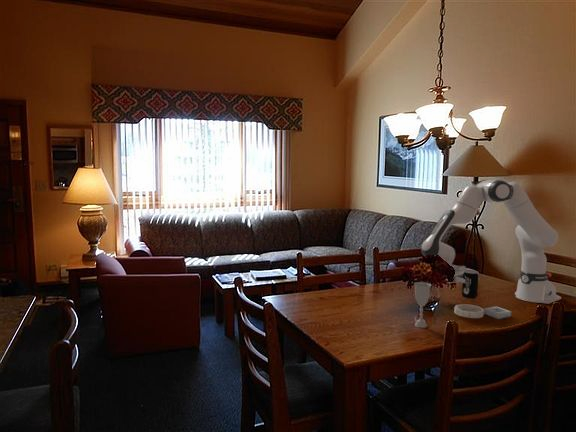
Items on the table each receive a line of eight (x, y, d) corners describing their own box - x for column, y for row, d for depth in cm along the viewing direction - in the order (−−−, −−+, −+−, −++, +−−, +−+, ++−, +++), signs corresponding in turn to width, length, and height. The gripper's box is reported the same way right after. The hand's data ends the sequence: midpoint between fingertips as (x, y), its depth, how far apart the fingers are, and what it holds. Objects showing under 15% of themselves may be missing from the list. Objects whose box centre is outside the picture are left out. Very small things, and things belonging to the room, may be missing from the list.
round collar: (468, 307, 212) (468, 302, 212) (489, 315, 201) (490, 310, 201) (448, 311, 207) (448, 306, 207) (469, 319, 196) (469, 314, 196)
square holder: (496, 311, 207) (496, 306, 207) (510, 316, 200) (511, 311, 200) (483, 313, 204) (483, 308, 204) (498, 319, 197) (498, 313, 197)
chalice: (408, 324, 189) (410, 283, 187) (418, 321, 194) (420, 281, 192) (423, 329, 184) (425, 287, 182) (433, 326, 188) (434, 284, 186)
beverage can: (478, 299, 200) (480, 273, 198) (463, 298, 201) (464, 272, 200) (475, 295, 206) (477, 270, 205) (460, 294, 207) (462, 269, 206)
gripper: (433, 269, 210) (455, 275, 197) (465, 265, 218) (488, 271, 206) (432, 282, 210) (454, 289, 198) (464, 277, 219) (487, 284, 206)
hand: (472, 280), depth 202 cm, fingers closed on beverage can, 7 cm apart
